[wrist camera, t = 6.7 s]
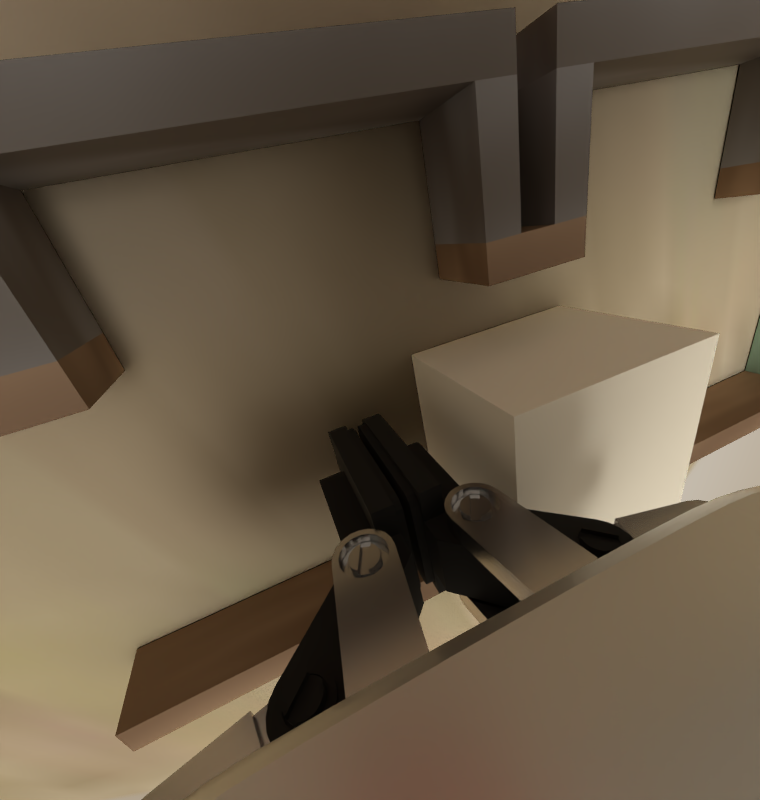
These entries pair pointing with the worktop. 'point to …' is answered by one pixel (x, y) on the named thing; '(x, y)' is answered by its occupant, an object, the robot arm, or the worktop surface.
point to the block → (569, 410)
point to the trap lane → (326, 116)
